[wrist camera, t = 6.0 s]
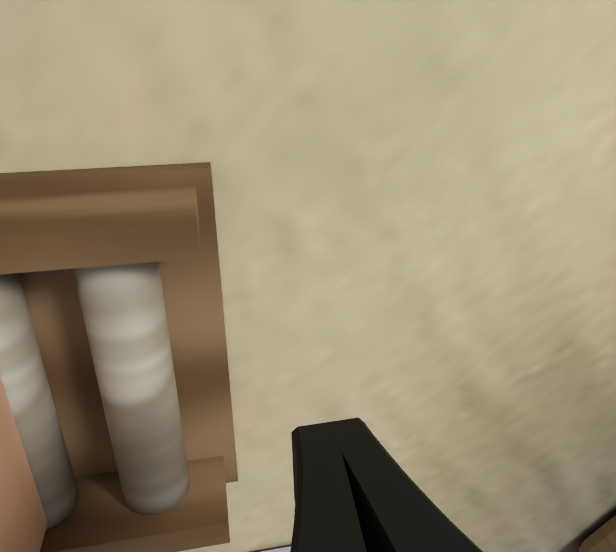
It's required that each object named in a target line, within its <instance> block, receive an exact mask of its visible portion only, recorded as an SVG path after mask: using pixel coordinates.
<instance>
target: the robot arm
mask: <svg viewBox="0 0 616 552" xmlns="http://www.w3.org/2000/svg"><path fill="white" fill-rule="evenodd" d="M292 452H293V474H294V496H295V517H294V528H293V536H292V543H291V546H289V547H283V548H277V549H272V550H266V551H260V552H483V551H482V550H480V549H479V548H478V547H477V546H476V545H475V544H474V543H473V542H472V541H471V540H470V539H469V538H468V537H467V536H466V535H465V534H464V533H462V532H461V531H460V530H459V529H458V528H457V527H456V526H455V525H454V524H453V523H452V522H451V521H450V520H449V519H448V518H447V517H446V516H445V515H444V514H443V513H442V512H441V511H440V510H439V509H438V508H437V507H436V506H435V505H434V504H433V502H432V501H431V500H430V499H429V498H428V497H427V496H426V495H425V494H424V493H423V492H422V491H421V490H420V489H419V487H418V486H417V485H416V484H415V483H414V482H413V481H412V480H411V479H410V478H409V477H408V475H407V474H406V473H405V472H404V471H403V470H402V469H401V467H400V466H399V465H398V464H397V463H396V462H395V460H394V459H393V458H392V457H391V456H390V455H389V453H388V452H387V451H386V450H385V449H384V447H383V446H382V445H381V444H380V442H379V441H378V440H377V439H376V437H375V436H374V435H373V434H372V432H371V431H370V430H369V428H368V427H367V426H366V424H365V423H364V422H363V421H362V420H361V419H359V418H353V419H346V420H340V421H333V422H327V423H320V424H313V425H307V426H300V427H297V428H296V429H295V430H294V431H293V432H292Z"/></svg>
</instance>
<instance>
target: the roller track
mask: <svg viewBox="0 0 616 552" xmlns="http://www.w3.org/2000/svg"><path fill="white" fill-rule="evenodd" d="M0 377H1V380H2V383H3V386H4V389H5V392H6V395H7V398H8V401H9V404H10V407H11V411H12V414H13V417H14V420H15V423H16V426H17V429H18V432H19V435H20V438H21V441H22V444H23V448H24V451H25V454H26V457H27V460H28V463H29V466H30V469H31V472H32V475H33V478H34V482H35V485H36V488H37V491H38V494H39V497H40V500H41V503H42V506H43V509H44V512H45V515H46V519H47V522H48V524H47V527H46V531H45V534H44V538H43V542H42V545H41V549H40V552H177V551H183V550H189V549H194V548H200V547H206V546H212V545H218V544H224V543H229V542H230V538H229V523H228V509H227V495H226V483H228V482H234V481H238V475H237V463H236V452H235V440H234V429H233V417H232V406H231V394H230V383H229V371H228V360H227V348H226V337H225V325H224V313H223V302H222V290H221V279H220V267H219V256H218V244H217V233H216V221H215V210H214V198H213V187H212V175H211V165H210V162H209V163H190V164H171V165H152V166H132V167H113V168H94V169H75V170H56V171H36V172H17V173H0Z"/></svg>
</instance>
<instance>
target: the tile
mask: <svg viewBox="0 0 616 552" xmlns="http://www.w3.org/2000/svg"><path fill="white" fill-rule="evenodd" d="M47 524H48V522H47V519H46V515H45V512H44V509H43V506H42V503H41V500H40V497H39V494H38V491H37V488H36V485H35V482H34V478H33V475H32V472H31V469H30V466H29V463H28V460H27V457H26V454H25V451H24V448H23V444H22V441H21V438H20V435H19V432H18V429H17V426H16V423H15V420H14V417H13V414H12V411H11V407H10V404H9V401H8V398H7V395H6V392H5V389H4V386H3V383H2V380H1V377H0V552H40V549H41V545H42V542H43V538H44V534H45V531H46V527H47Z"/></svg>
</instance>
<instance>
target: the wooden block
mask: <svg viewBox="0 0 616 552" xmlns="http://www.w3.org/2000/svg"><path fill="white" fill-rule="evenodd" d="M579 552H616V515H615V516H614V517H612V518H611V519H610V520H609V521H607V522H606V523H605V524H604V525H602V526H601V527H600V528H599V529H598V530H596V531H595V532H594V533H593V534H591V535H590V536H589V537H588V538H586V539H585V540H584V541H583V543H582V544H581V546H580V548H579Z"/></svg>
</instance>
